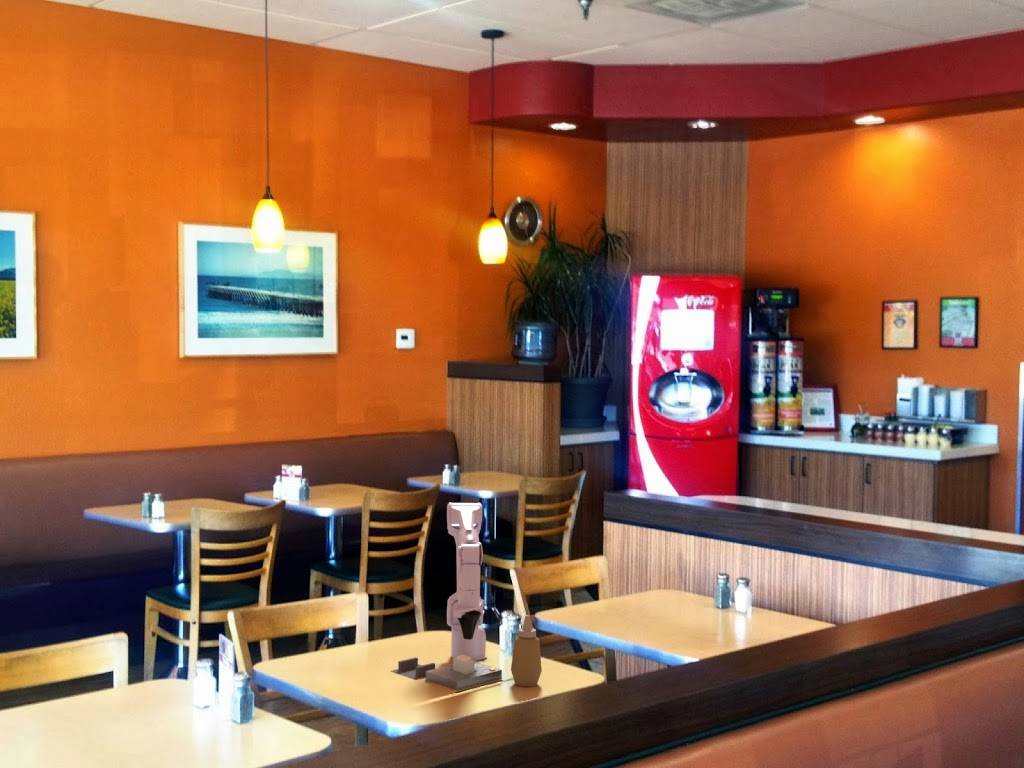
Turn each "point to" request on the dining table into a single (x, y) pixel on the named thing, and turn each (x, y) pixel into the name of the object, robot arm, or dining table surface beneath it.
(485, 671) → the port block
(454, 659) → the plug
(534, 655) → the squeeze bottle
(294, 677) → the dining table surface
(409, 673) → the dark grey holder base
